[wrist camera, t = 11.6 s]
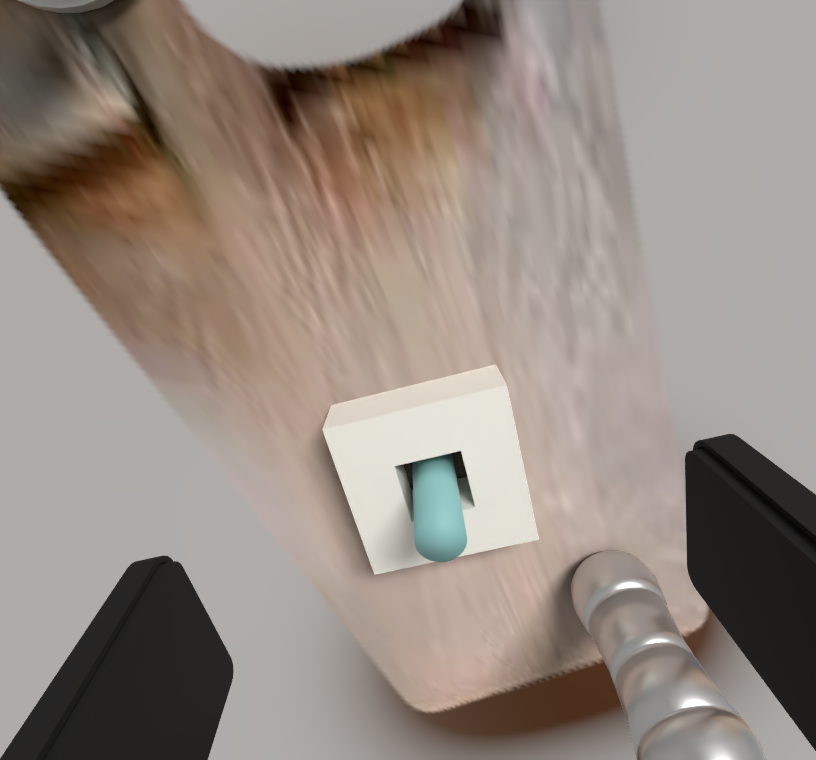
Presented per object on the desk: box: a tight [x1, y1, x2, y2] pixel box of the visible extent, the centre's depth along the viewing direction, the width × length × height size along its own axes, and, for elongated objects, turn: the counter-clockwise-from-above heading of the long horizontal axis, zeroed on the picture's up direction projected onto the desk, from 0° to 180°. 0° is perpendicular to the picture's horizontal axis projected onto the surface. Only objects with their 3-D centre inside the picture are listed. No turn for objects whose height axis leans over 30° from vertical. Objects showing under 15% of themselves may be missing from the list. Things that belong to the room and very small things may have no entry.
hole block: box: [323, 365, 539, 575], centre depth 35 cm, size 12×12×4 cm
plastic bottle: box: [571, 550, 766, 760], centre depth 31 cm, size 6×7×20 cm
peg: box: [412, 453, 467, 562], centre depth 33 cm, size 3×3×10 cm
